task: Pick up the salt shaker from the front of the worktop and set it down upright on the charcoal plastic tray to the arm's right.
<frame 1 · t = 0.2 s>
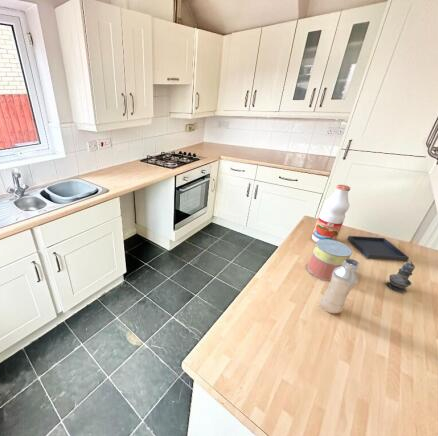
tray: (375, 249, 111), on the counter
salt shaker: (395, 287, 90), on the counter
canned food: (323, 271, 99), on the counter
plastic bottle: (329, 308, 82), on the counter
fruit juice: (322, 240, 118), on the counter
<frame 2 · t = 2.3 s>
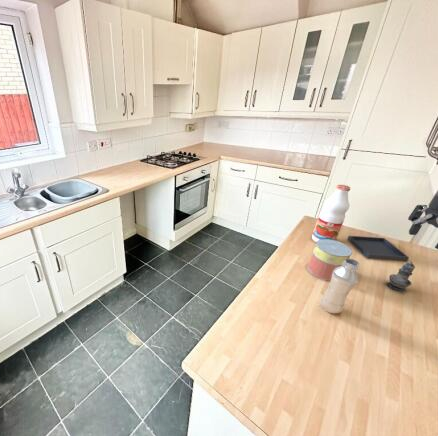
hand: (424, 241, 81), 20 cm above the counter, tool pointing down, fingers open, 8 cm apart
nothing on the counter moved.
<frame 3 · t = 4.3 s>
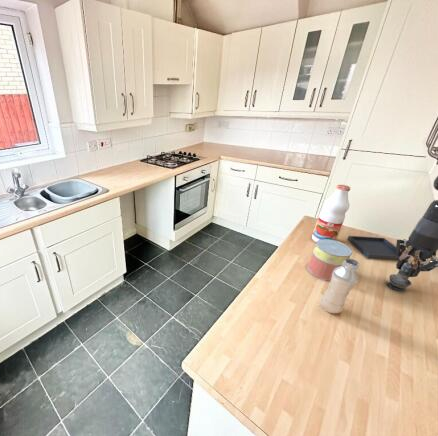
hand: (404, 272, 87), 7 cm above the counter, tool pointing down, fingers closed on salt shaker, 3 cm apart
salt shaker: (395, 287, 90), on the counter, touching gripper
everything else where it was.
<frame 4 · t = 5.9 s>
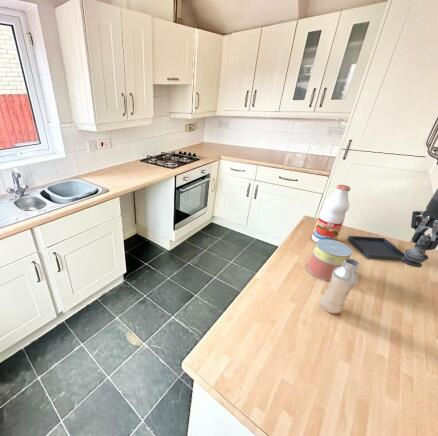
hand: (421, 245, 82), 19 cm above the counter, tool pointing down, fingers closed on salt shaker, 3 cm apart
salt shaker: (411, 262, 85), point 11 cm above the counter, touching gripper
everything else where it was.
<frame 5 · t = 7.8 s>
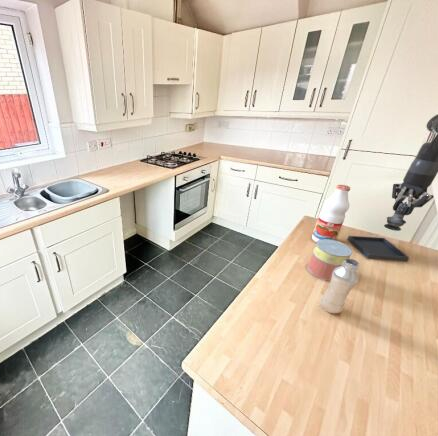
hand: (400, 212, 98), 21 cm above the counter, tool pointing down, fingers closed on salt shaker, 3 cm apart
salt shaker: (392, 227, 101), point 13 cm above the counter, touching gripper
everything else where it was.
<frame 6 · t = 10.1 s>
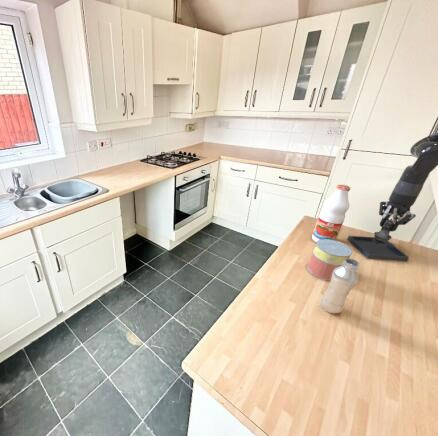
hand: (386, 228, 105), 11 cm above the counter, tool pointing down, fingers closed on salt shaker, 3 cm apart
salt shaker: (379, 242, 109), point 4 cm above the counter, touching gripper
everything else where it was.
when the fingers open (8 cm above the counter, at t = 11.4 s): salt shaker stays where it is, resting on tray.
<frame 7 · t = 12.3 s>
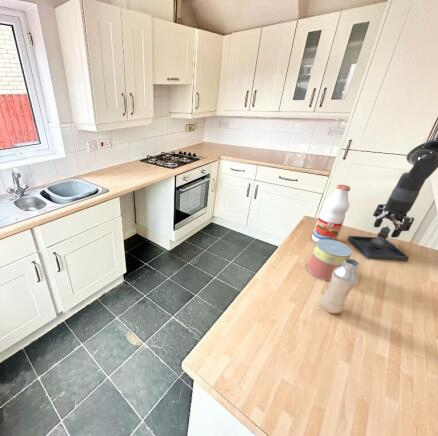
hand: (384, 231, 106), 10 cm above the counter, tool pointing down, fingers open, 8 cm apart
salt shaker: (375, 248, 110), resting on tray
everything else where it was.
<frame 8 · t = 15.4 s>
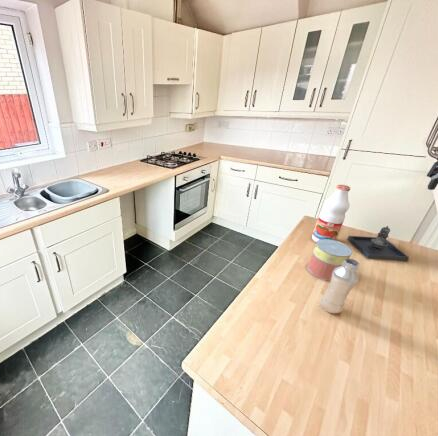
nothing on the counter moved.
at the end: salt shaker inside the target area in the tray (0.0 cm from its centre), point 0.3 cm above the tray's base; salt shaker tilted 0°; the gripper is holding nothing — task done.
